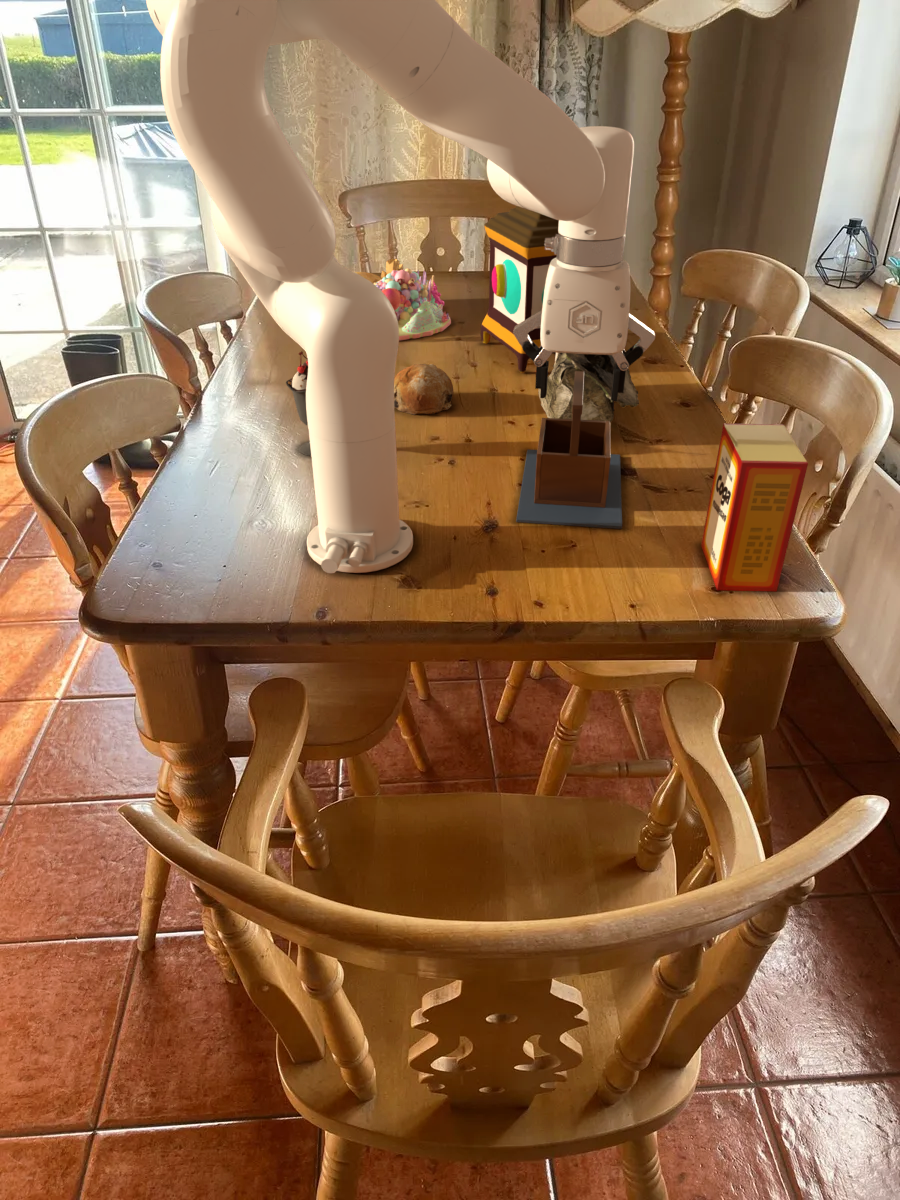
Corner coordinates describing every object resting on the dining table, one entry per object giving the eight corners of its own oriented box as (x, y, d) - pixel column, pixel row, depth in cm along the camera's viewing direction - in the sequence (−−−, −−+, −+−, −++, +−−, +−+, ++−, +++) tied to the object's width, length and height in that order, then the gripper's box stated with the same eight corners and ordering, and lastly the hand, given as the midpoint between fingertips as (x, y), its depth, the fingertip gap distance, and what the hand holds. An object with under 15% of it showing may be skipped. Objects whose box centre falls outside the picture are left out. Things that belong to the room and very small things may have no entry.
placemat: (621, 529, 112) (622, 526, 111) (516, 522, 113) (516, 519, 113) (619, 457, 128) (620, 454, 127) (527, 451, 129) (527, 449, 129)
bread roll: (434, 439, 141) (455, 397, 136) (374, 408, 140) (394, 364, 135) (446, 413, 149) (467, 373, 144) (391, 384, 148) (410, 342, 143)
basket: (605, 508, 115) (616, 407, 107) (534, 503, 116) (539, 403, 108) (605, 468, 124) (615, 372, 116) (539, 464, 125) (544, 369, 117)
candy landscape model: (307, 316, 179) (303, 268, 174) (399, 292, 192) (398, 246, 187) (387, 348, 164) (385, 296, 159) (481, 320, 177) (482, 271, 172)
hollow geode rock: (578, 403, 155) (520, 336, 151) (639, 354, 149) (580, 284, 145) (569, 472, 132) (500, 397, 128) (640, 419, 126) (570, 337, 121)
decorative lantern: (620, 362, 158) (640, 174, 141) (516, 378, 152) (524, 184, 135) (566, 327, 173) (578, 154, 156) (470, 341, 167) (471, 162, 150)
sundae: (296, 462, 127) (285, 357, 118) (290, 442, 132) (279, 340, 124) (343, 456, 128) (335, 352, 120) (335, 436, 134) (327, 336, 125)
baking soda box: (701, 545, 108) (723, 420, 99) (756, 546, 108) (784, 421, 99) (717, 590, 101) (743, 459, 91) (776, 591, 100) (809, 460, 91)
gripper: (511, 256, 101) (506, 404, 111) (670, 261, 99) (650, 411, 109) (516, 239, 107) (511, 381, 117) (666, 243, 105) (648, 387, 115)
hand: (578, 395), depth 113 cm, fingers open, 8 cm apart
